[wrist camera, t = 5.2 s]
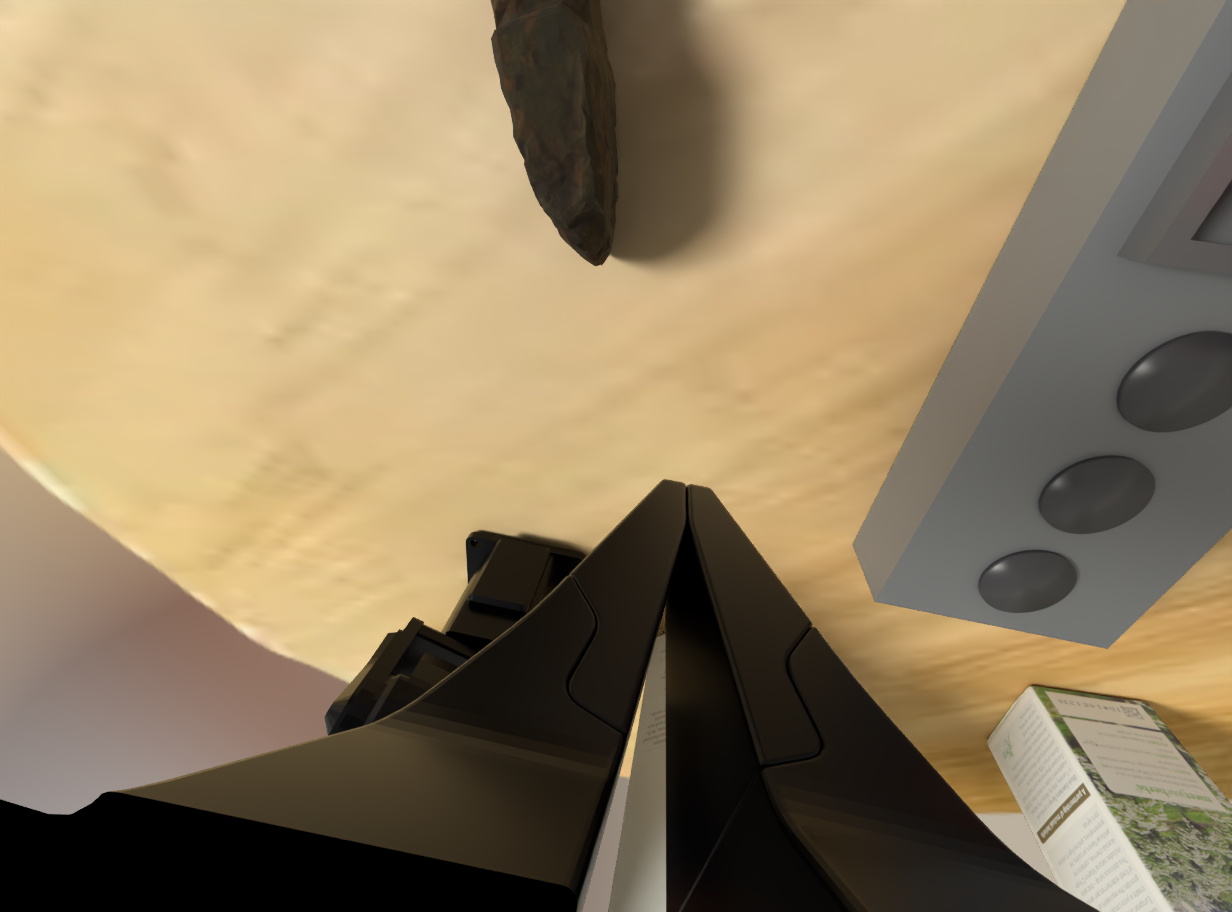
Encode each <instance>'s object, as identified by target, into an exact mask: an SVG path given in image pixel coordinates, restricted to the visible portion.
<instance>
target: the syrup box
mask: <svg viewBox="0 0 1232 912" xmlns="http://www.w3.org/2000/svg"><path fill="white" fill-rule="evenodd" d="M987 742H988V746H989V749H990V750H991V752H992V754H993V756H994V758H995V760H996V762H997V764H998V766H999V768H1000V770H1001V772H1002V774H1003V776H1004V778H1005V780H1006V782H1007V783H1008V785H1009V787H1010V789H1011V791H1012V793H1013V795H1014V797H1015V799H1016V801H1017V803H1018V805H1019V807H1020V809H1021V811H1022V813H1023V815H1024V817H1025V819H1026V821H1027V823H1028V825H1029V827H1030V829H1031V831H1032V833H1033V835H1034V837H1035V839H1036V841H1037V843H1038V845H1039V847H1040V849H1041V851H1042V853H1043V855H1044V857H1045V859H1046V861H1047V864H1048V866H1049V868H1050V870H1051V872H1052V874H1053V876H1054V878H1055V880H1056V882H1057V884H1058V886H1059V887H1060V888H1062V889H1063V890H1065V891H1067V892H1068V893H1070V894H1071V895H1073V896H1075V897H1076V898H1078V899H1080V900H1082V901H1083V902H1085V903H1087V904H1088V905H1090V906H1092V907H1094V908H1095V909H1097V910H1099V911H1100V912H1232V804H1231V803H1230V802H1229V800H1228V799H1227V798H1226V797H1225V796H1224V794H1223V793H1222V792H1221V791H1220V789H1219V788H1218V787H1217V786H1216V785H1215V784H1214V782H1213V781H1212V780H1211V779H1210V778H1209V776H1208V775H1207V774H1206V773H1205V771H1204V770H1203V769H1202V768H1201V766H1200V765H1199V764H1198V763H1197V762H1196V761H1195V760H1194V758H1193V757H1192V756H1191V755H1190V753H1189V752H1188V751H1187V750H1186V749H1185V748H1184V746H1183V745H1182V744H1181V743H1180V742H1179V741H1178V740H1177V738H1176V737H1175V736H1174V734H1173V733H1172V732H1171V731H1170V729H1169V728H1168V727H1167V726H1166V725H1165V723H1164V722H1163V721H1162V720H1161V718H1160V717H1159V716H1158V715H1157V714H1156V713H1155V711H1154V710H1153V709H1152V708H1151V707H1150V706H1149V704H1148V703H1146V702H1142V701H1136V700H1129V699H1121V698H1114V697H1107V696H1100V695H1093V694H1086V693H1081V692H1073V691H1066V690H1059V689H1052V688H1046V687H1038V686H1029V687H1028V688H1027V689H1026V690H1025V691H1024V692H1023V693H1022V694H1021V695H1020V697H1019V698H1018V699H1017V700H1016V701H1015V703H1014V704H1013V705H1012V707H1011V708H1010V709H1009V711H1008V712H1007V713H1006V715H1005V716H1004V717H1003V719H1002V720H1001V722H1000V723H999V724H998V726H997V727H996V729H995V730H994V731H993V733H992V734H991V736H990V737H989V739H988V740H987Z"/></svg>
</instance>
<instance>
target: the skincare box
mask: <svg viewBox="0 0 1232 912" xmlns="http://www.w3.org/2000/svg"><path fill="white" fill-rule="evenodd" d="M608 912H666V673H665V634H663V635H661V636H658V637H657V638H656V642H655V645H654V649H653V653H652V656H651V660H650V664H649V668H648V671H647V676H646V682H645V689H644V695H643V701H642V707H641V713H640V719H639V726H638V732H637V738H636V744H635V750H634V756H633V763H632V769H631V775H630V781H629V786H628V793H627V799H626V805H625V812H624V818H623V824H622V831H621V837H620V843H619V849H618V855H617V861H616V867H615V874H614V879H613V885H612V892H611V897H610V904H609V909H608Z"/></svg>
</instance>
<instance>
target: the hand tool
mask: <svg viewBox="0 0 1232 912" xmlns="http://www.w3.org/2000/svg"><path fill="white" fill-rule="evenodd" d="M491 4H492V8H493V12H494V17H495V23H496V30H495V31H494V33H493V35H492V38H491V41H492V47H493V53H494V59H495V63H496V67H497V70H498V73H499V77H500V84H501V89H502V92H503V95H504V97H505V99H506V102H507V104H508V106H509V108H510V112H511V117H512V122H513V137H514V139H515V142H516V144H517V146H518V148H519V150H520V153H521V154H522V156H523V158H524V160H525V162H524V165H525V169H526V172H527V175H528V178H529V181H530V184H531V186H532V188H533V191H534V194H535V196H536V198H537V200H538V202H539V204H540V206H541V207H542V208H543V210H544V212H545V213H546V214H547V215H548V216H549V217H550V218H551V220H552V222H553V224H554V226H555V227H556V228H557V229H558V232H559V234H560V236H561V237H562V239H563V240H564V241H565V242H566V243H567V244H569V245H570V246H571V247H572V248H573V249H574V250H575V251H576V252H577V253H578V254H579V255H580V256H581V257H583V258H584V259H585V260H586V261H588V262H589V263H591V264H593V265H594V266H598V265H600V264H601V266H602V264H603V263H604V262H605V261H606V259H607V257H608V256H609V255H610V252H611V248H612V243H613V235H614V227H615V221H616V220H615V204H616V201H617V199H618V185H617V180H616V178H617V174H618V162H617V148H616V135H615V126H616V106H615V81H614V77H613V73H612V69H611V66H610V63H609V60H608V57H607V46H606V41H605V36H604V31H603V26H602V18H601V10H600V1H599V0H491Z"/></svg>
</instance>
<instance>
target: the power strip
mask: <svg viewBox="0 0 1232 912" xmlns="http://www.w3.org/2000/svg"><path fill="white" fill-rule="evenodd" d="M1231 528H1232V0H1127V2H1126V4H1125V6H1124V8H1123V10H1122V12H1121V14H1120V16H1119V18H1118V20H1117V22H1116V24H1115V26H1114V28H1113V30H1112V32H1111V34H1110V36H1109V38H1108V40H1107V42H1106V44H1105V46H1104V48H1103V50H1102V52H1101V54H1100V56H1099V58H1098V60H1097V62H1096V64H1095V66H1094V67H1093V69H1092V71H1091V73H1090V75H1089V77H1088V79H1087V81H1086V83H1085V85H1084V87H1083V89H1082V91H1081V93H1080V95H1079V97H1078V99H1077V101H1076V103H1075V105H1074V107H1073V109H1072V111H1071V113H1070V115H1069V117H1068V119H1067V121H1066V123H1065V125H1064V127H1063V129H1062V131H1061V133H1060V135H1059V137H1058V139H1057V141H1056V143H1055V145H1054V147H1053V149H1052V151H1051V153H1050V155H1049V157H1048V159H1047V161H1046V163H1045V165H1044V167H1043V168H1042V170H1041V172H1040V174H1039V176H1038V178H1037V180H1036V182H1035V184H1034V186H1033V188H1032V190H1031V192H1030V194H1029V196H1028V198H1027V200H1026V202H1025V204H1024V206H1023V208H1022V210H1021V212H1020V214H1019V216H1018V218H1017V220H1016V222H1015V224H1014V226H1013V228H1012V230H1011V232H1010V234H1009V236H1008V238H1007V240H1006V242H1005V244H1004V246H1003V248H1002V250H1001V252H1000V254H999V256H998V258H997V260H996V262H995V264H994V266H993V268H992V269H991V271H990V273H989V275H988V277H987V279H986V281H985V283H984V285H983V287H982V289H981V291H980V293H979V295H978V297H977V299H976V301H975V303H974V305H973V307H972V309H971V311H970V313H969V315H968V317H967V319H966V321H965V323H964V325H963V327H962V329H961V331H960V333H959V335H958V337H957V339H956V341H955V343H954V345H953V347H952V349H951V351H950V353H949V355H948V357H947V359H946V361H945V363H944V365H943V367H942V368H941V370H940V372H939V374H938V376H937V378H936V380H935V382H934V384H933V386H932V388H931V390H930V392H929V394H928V396H927V398H926V400H925V402H924V404H923V406H922V408H921V410H920V412H919V414H918V416H917V418H916V420H915V422H914V424H913V426H912V428H911V430H910V432H909V434H908V436H907V438H906V440H905V442H904V444H903V446H902V448H901V450H900V452H899V454H898V456H897V458H896V460H895V462H894V464H893V466H892V468H891V469H890V471H889V473H888V475H887V477H886V479H885V481H884V483H883V485H882V487H881V489H880V491H879V493H878V495H877V497H876V499H875V501H874V503H873V505H872V507H871V509H870V511H869V513H868V515H867V517H866V519H865V521H864V523H863V525H862V527H861V529H860V531H859V533H858V535H857V537H856V539H855V541H854V543H853V547H854V550H855V552H856V555H857V557H858V560H859V563H860V565H861V568H862V570H863V573H864V576H865V578H866V581H867V583H868V586H869V588H870V591H871V594H872V596H873V599H874V601H875V602H879V603H884V604H889V605H894V606H899V607H904V608H908V609H913V610H918V611H923V612H928V613H933V614H938V615H943V616H948V617H953V618H958V619H963V620H968V621H973V622H978V623H983V624H988V625H993V626H997V627H1002V628H1007V629H1012V630H1017V631H1022V632H1027V633H1032V634H1037V635H1042V636H1047V637H1052V638H1057V639H1062V640H1067V641H1072V642H1077V643H1082V644H1086V645H1091V646H1096V647H1101V648H1106V649H1108V648H1109V647H1110V646H1111V645H1112V644H1113V643H1114V642H1115V641H1116V640H1117V639H1118V638H1119V637H1120V636H1121V635H1122V634H1123V633H1124V632H1125V631H1126V630H1127V629H1128V628H1130V627H1131V626H1132V625H1133V624H1134V623H1135V622H1136V621H1137V620H1138V619H1139V618H1140V617H1141V616H1142V615H1143V614H1144V613H1145V612H1146V611H1147V610H1148V609H1149V608H1150V607H1151V606H1152V605H1153V604H1154V603H1155V602H1156V601H1157V600H1158V599H1159V598H1160V597H1161V596H1162V595H1163V594H1165V593H1166V592H1167V591H1168V590H1169V589H1170V588H1171V587H1172V586H1173V585H1174V584H1175V583H1176V582H1177V581H1178V580H1179V579H1180V578H1181V577H1182V576H1183V575H1184V574H1185V573H1186V572H1187V571H1188V570H1189V569H1190V568H1191V567H1192V566H1193V565H1194V564H1195V563H1196V562H1197V561H1198V560H1200V559H1201V558H1202V557H1203V556H1204V555H1205V554H1206V553H1207V552H1208V551H1209V550H1210V549H1211V548H1212V547H1213V546H1214V545H1215V544H1216V543H1217V542H1218V541H1219V540H1220V539H1221V538H1222V537H1223V536H1224V535H1225V534H1226V533H1227V532H1228V531H1229V530H1230V529H1231Z"/></svg>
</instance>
